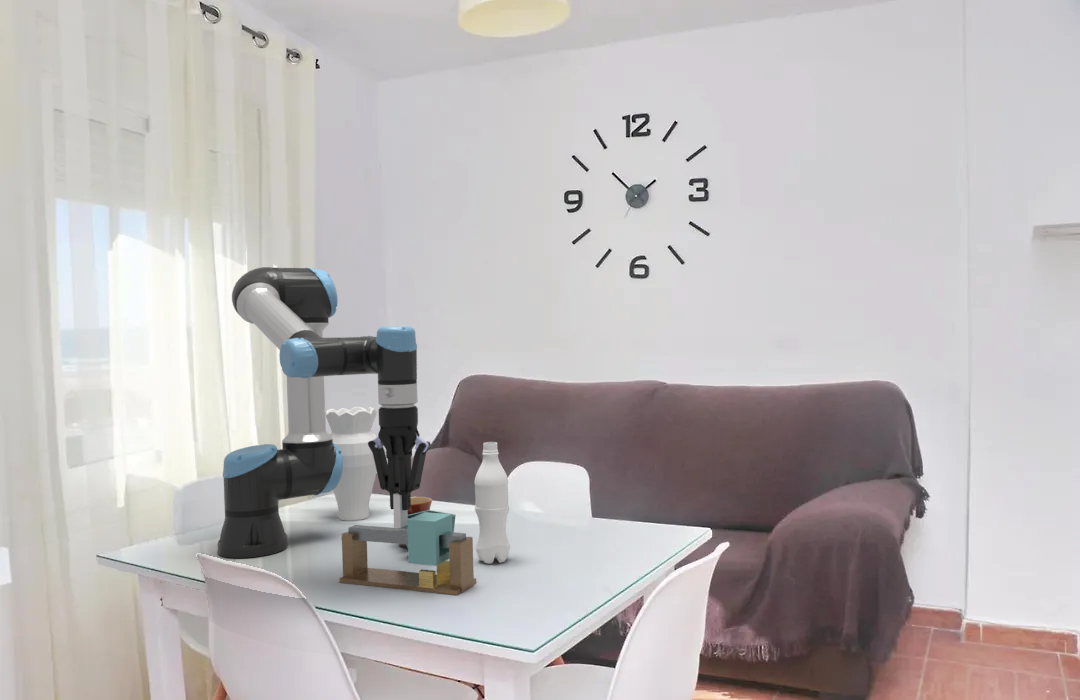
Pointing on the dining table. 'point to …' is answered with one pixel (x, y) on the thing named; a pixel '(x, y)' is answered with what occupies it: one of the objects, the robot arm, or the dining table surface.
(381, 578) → the rail
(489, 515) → the water bottle
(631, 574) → the dining table surface
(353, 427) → the vase
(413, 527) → the block
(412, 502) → the mug
